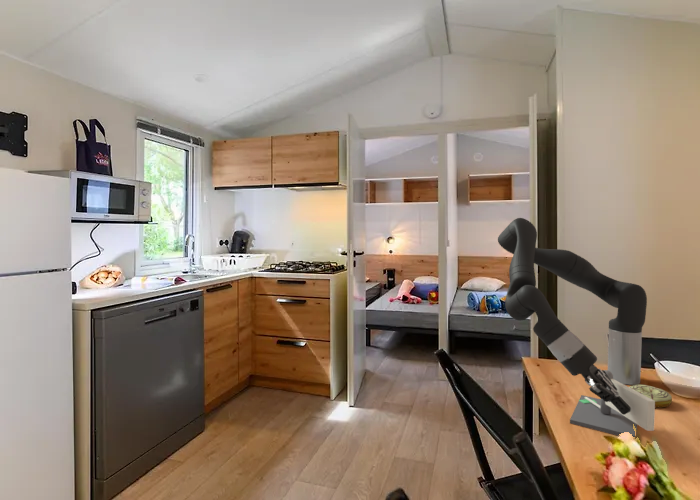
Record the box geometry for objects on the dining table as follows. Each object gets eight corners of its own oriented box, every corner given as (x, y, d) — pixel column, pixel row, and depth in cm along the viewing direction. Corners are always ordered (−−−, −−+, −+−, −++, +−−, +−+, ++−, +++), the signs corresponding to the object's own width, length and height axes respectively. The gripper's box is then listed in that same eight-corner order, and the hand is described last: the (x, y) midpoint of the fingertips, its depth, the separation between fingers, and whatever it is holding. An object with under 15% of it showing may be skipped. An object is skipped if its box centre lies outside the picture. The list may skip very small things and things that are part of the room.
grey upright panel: (580, 398, 116) (581, 360, 115) (590, 398, 116) (591, 360, 116) (643, 442, 92) (645, 393, 91) (656, 442, 92) (658, 393, 91)
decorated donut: (618, 397, 121) (618, 385, 120) (642, 392, 124) (642, 380, 124) (655, 411, 111) (655, 398, 111) (679, 406, 114) (680, 393, 114)
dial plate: (581, 398, 119) (581, 394, 119) (638, 411, 111) (638, 406, 111) (569, 423, 104) (569, 418, 104) (635, 440, 95) (635, 435, 95)
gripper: (564, 354, 109) (616, 410, 102) (554, 367, 99) (611, 430, 92) (586, 338, 106) (642, 395, 99) (579, 350, 95) (640, 414, 88)
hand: (627, 411), depth 95 cm, fingers closed
